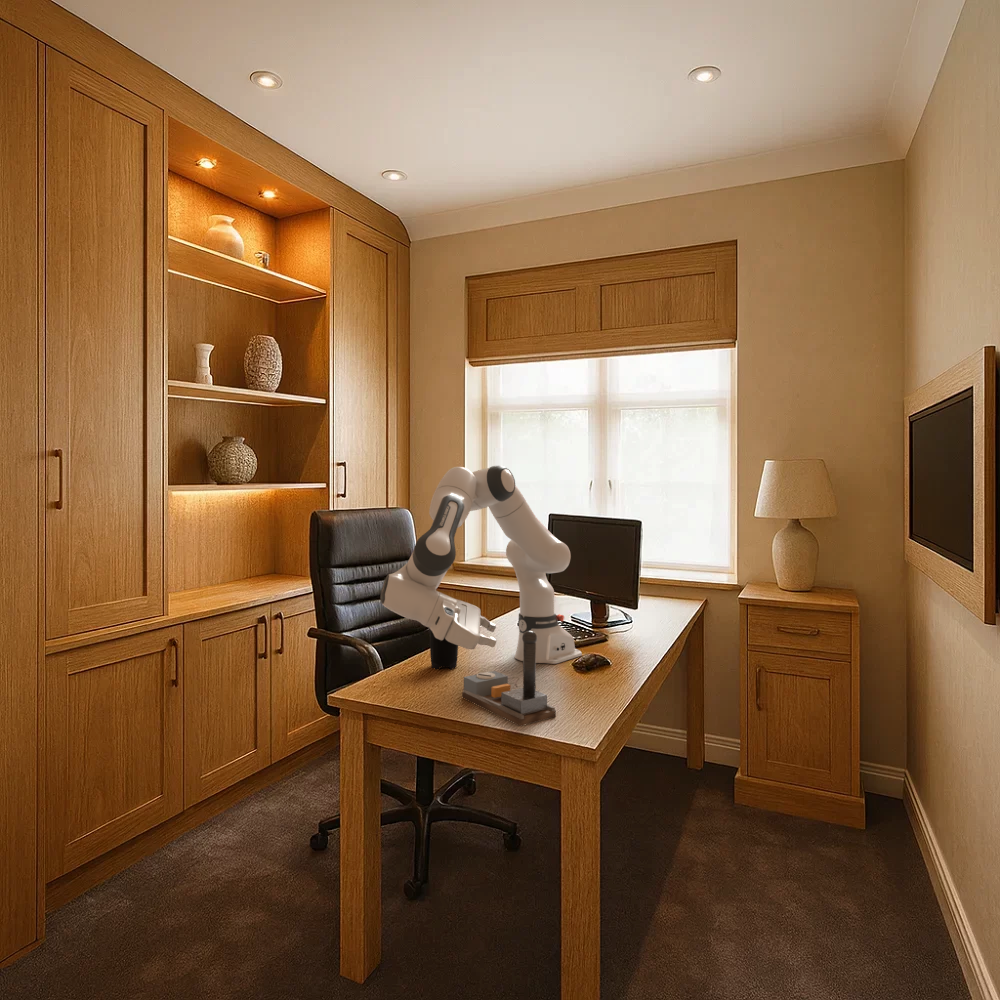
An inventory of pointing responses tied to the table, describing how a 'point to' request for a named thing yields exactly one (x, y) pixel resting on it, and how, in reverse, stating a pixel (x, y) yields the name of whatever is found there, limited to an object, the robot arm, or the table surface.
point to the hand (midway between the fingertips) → (495, 635)
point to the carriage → (526, 682)
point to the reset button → (499, 690)
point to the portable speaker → (442, 653)
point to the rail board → (497, 708)
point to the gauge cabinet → (484, 682)
